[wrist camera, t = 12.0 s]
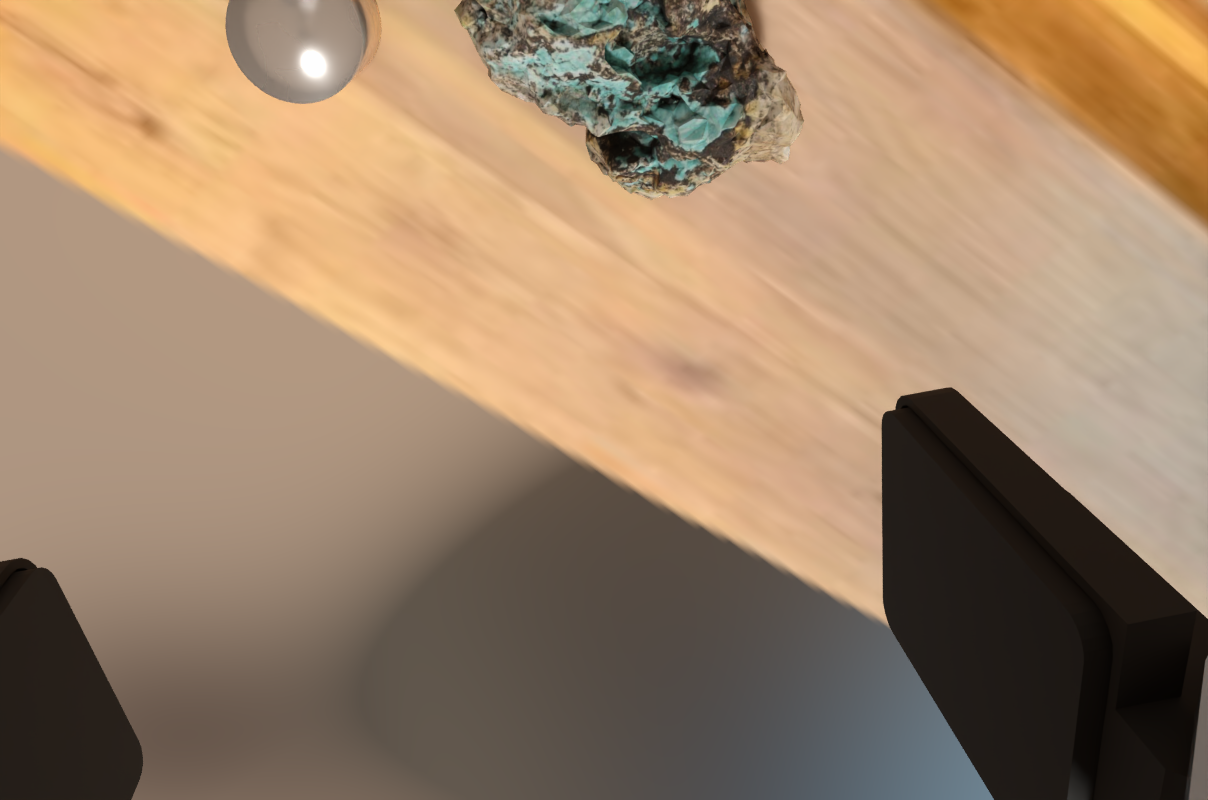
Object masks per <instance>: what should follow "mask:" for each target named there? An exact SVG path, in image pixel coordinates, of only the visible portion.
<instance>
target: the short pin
mask: <svg viewBox="0 0 1208 800" xmlns="http://www.w3.org/2000/svg"><path fill="white" fill-rule="evenodd" d="M226 35H227V40H228V44H229V48H230V50H231V53H232V55H233V57H234V59H235V61H236V63H237V65H238V66H239V68H240V69H241V71H242V72H243V73H244V75H245V76H246V77H247V78H248V79H249V80H250V81H251V82H252V83H253V84H254V85H255V86H257V87H258V88H259V89H261V90H262V91H263V92H265V93H267V94H269V95H270V96H272V97H275V98H277V99H279V100H283V101H286V102H291V103H300V104H306V103H315V102H319V101H322V100H325V99H327V98H330V97H331V96H333V95H335V94H336V93H338V92H339V91H340V90H342V89H343V88H344V87H345V86H346V85H347V84H348V83H349V82H350V81H351V80H352V79H353V78H354V77H356V76H357V75H358V74H359V73H360V72H361V71H362V70H363V69H364V68H365V67H366V66H367V65H368V64H369V63H370V61H371V60H372V59H373V57H374V55H375V53H376V51H377V49H378V46H379V43H380V38H381V18H380V13H379V10H378V6H377V4H376V2H375V0H230V1H229V4H228V8H227V13H226Z"/></svg>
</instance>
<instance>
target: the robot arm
mask: <svg viewBox="0 0 1208 800" xmlns="http://www.w3.org/2000/svg"><path fill="white" fill-rule="evenodd" d="M882 537H883V604H884V609H885V614H886V617H887V620H888V623H889V626H890V628H891V630H892V632H893V634H894V635H895V637H896V639H897V640H898V642H899V643H900V645H901V647H902V648H903V650H904V652H905V653H906V655H907V657H908V658H909V660H910V662H911V663H912V665H913V666H914V668H915V670H916V671H917V673H918V675H919V676H920V678H921V680H922V681H923V683H924V685H925V686H926V688H927V690H928V691H929V693H930V694H931V696H932V698H933V700H934V701H935V703H936V704H937V706H938V708H939V709H940V711H941V713H942V714H943V716H944V718H945V719H946V721H947V723H948V724H949V726H950V728H951V729H952V731H953V732H954V734H955V736H956V737H957V739H958V741H959V742H960V744H961V746H962V747H963V749H964V750H965V752H966V754H967V756H968V757H969V759H970V760H971V762H972V764H973V765H974V767H975V769H976V770H977V772H978V774H979V775H980V777H981V778H982V780H983V782H984V784H985V785H986V787H987V789H988V790H989V792H990V793H991V795H992V797H993V798H994V800H1208V619H1207V618H1206V617H1205V616H1204V615H1203V614H1202V613H1201V612H1199V611H1198V610H1197V609H1196V608H1195V607H1194V606H1193V605H1192V604H1191V603H1190V602H1188V601H1187V600H1186V599H1185V598H1184V597H1183V596H1182V595H1181V594H1180V593H1179V592H1178V591H1176V590H1175V589H1174V588H1173V587H1172V586H1171V585H1170V584H1169V583H1168V582H1167V581H1165V580H1164V579H1163V578H1162V577H1161V576H1160V575H1159V574H1158V573H1157V572H1156V571H1155V570H1153V569H1152V568H1151V567H1150V566H1149V565H1148V564H1147V563H1146V562H1145V561H1144V560H1143V559H1141V558H1140V557H1139V556H1138V555H1137V554H1136V553H1135V552H1134V551H1133V550H1132V549H1130V548H1129V547H1128V546H1127V545H1126V544H1125V543H1124V542H1123V541H1122V540H1121V539H1120V538H1118V537H1117V536H1116V535H1115V534H1114V533H1113V532H1112V531H1111V530H1110V529H1109V528H1107V527H1106V526H1105V525H1104V524H1103V523H1102V522H1101V521H1100V520H1099V519H1098V518H1097V517H1095V516H1094V515H1093V514H1092V513H1091V512H1090V511H1089V510H1088V509H1087V508H1086V507H1084V506H1083V505H1082V504H1081V503H1080V502H1079V501H1078V500H1077V499H1076V498H1075V497H1074V496H1072V495H1071V494H1070V493H1069V492H1067V491H1066V490H1065V489H1064V488H1063V487H1061V486H1060V485H1059V484H1058V483H1057V482H1056V481H1055V480H1054V479H1053V478H1052V477H1051V476H1049V475H1048V474H1047V473H1046V472H1045V471H1044V470H1043V469H1042V468H1041V467H1040V466H1039V465H1037V464H1036V463H1035V462H1034V461H1033V460H1032V459H1031V458H1030V457H1029V456H1028V455H1026V454H1025V453H1024V452H1023V451H1022V450H1021V449H1020V448H1019V447H1018V446H1017V445H1016V444H1014V443H1013V442H1012V441H1011V440H1010V439H1009V438H1008V437H1007V436H1006V435H1005V434H1004V433H1002V432H1001V431H1000V430H999V429H998V428H997V427H996V426H995V425H994V424H993V423H992V422H990V421H989V420H988V419H987V418H986V417H985V416H984V415H983V414H982V413H981V412H980V411H978V410H977V409H976V408H975V407H974V406H973V405H972V404H971V403H970V402H969V401H967V400H966V399H965V398H964V397H963V396H962V395H961V394H960V393H959V392H958V391H956V390H955V389H953V388H943V389H937V390H932V391H926V392H921V393H916V394H910V395H905V396H901V397H900V398H899V399H898V401H897V404H896V409H895V410H893V411H887V412H885V413H884V415H883V418H882ZM142 766H143V757H142V750H141V746H140V743H139V740H138V739H137V737H136V735H135V733H134V731H133V729H132V727H131V725H130V723H129V721H128V719H127V717H126V715H125V713H124V711H123V709H122V707H121V705H120V703H119V701H118V699H117V697H116V695H115V693H114V692H113V689H112V687H111V686H110V684H109V682H108V680H107V678H106V676H105V674H104V672H103V670H102V668H101V666H100V664H99V662H98V660H97V658H96V656H95V655H94V652H93V650H92V648H91V646H90V644H89V642H88V641H87V638H86V637H85V635H84V633H83V631H82V629H81V627H80V625H79V623H78V621H77V619H76V617H75V615H74V613H73V611H72V609H71V608H70V605H69V603H68V601H67V599H66V597H65V595H64V593H63V591H62V590H61V588H60V586H59V584H58V582H57V580H56V578H55V577H54V575H53V574H52V572H50V571H49V570H48V569H46V568H37V567H36V565H34V564H33V563H32V562H31V561H29V560H27V559H23V558H18V559H13V560H7V561H2V562H0V800H131V799H132V796H133V794H134V792H135V789H136V787H137V784H138V782H139V780H140V776H141V773H142Z"/></svg>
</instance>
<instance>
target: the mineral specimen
mask: <svg viewBox="0 0 1208 800" xmlns="http://www.w3.org/2000/svg"><path fill="white" fill-rule="evenodd" d="M454 11H455V12H456V14H457V16H458V18H459V20H460V22H461V24H462V26H463V27H464V28H465V29H467V30H468V32H469V35H470V37H471V39H472V41H473V43H474V45H475V47H476V50H477V52H478V53H479V55H480V57H481V59H482V62H483V63H484V64H485V66H486V67H487V68H488V76H489V77H490V79H491V80H492V81H493V82H494V83H495V84H496V85H497V86H498V87H499V88H500V89H501V90H502V91H504V92H506V93H508V94H510V95H513V96H515V97H517V98H519V99H522V100H524V101H527V102H533V103H536V105H537V106H538V107H539V108H540V109H541V110H542V112H543V113H545V114H548V115H552V116H557V117H558V118H559V119H561V120H562V121H564V122H565V123H566V124H568V125H569V126H573V125H575V124H576V125H584V126H586V127H587V128H586V146H587V149H588V152H589V155H590V158H591V160H592V161H593V162H595V163H596V164H597V165H598V166H599V168H600V169H601V171H602V172H603V174H604V175H608V176H609V177H610V178H611V179H612V181H613V182H618V184H619V185H620V186H621V187H623V188H624V189H625V190H627V191H628V192H629V193H636V194H638V195H640V196H643V197H645V198H648V199H650V200H653V199H656V198H659V197H661V196H663V195H666V196H667V197H669V198H672V197H678V196H688V195H689V194H690V193H691V192H692V191H693V190H694V189H696V188H697V187H698V186H699V185H702V184H705V183H710V182H711V181H712V180H713V179H715V178H716V177H718V176H719V175H720V174H722V173H724V172H725V171H726V170H728V169H729V168H731V167H732V166H734V165H735V164H736V163H738V162H740V161H744V162H745V163H747V162H751V161H756V162H766V161H769V160H773V161H775V162H777V163H779V164H782V163H783V162H785V161H786V160H788V159H789V153H790V146H791V145H792V144H793V142H794V141H795V140H796V138H797V137H798V136H799V134H800V132H801V129H802V126H803V123H804V120H803V117H802V114H801V110H800V105H801V104H800V101H799V99H798V96H797V94H796V91H795V89H794V88H793V86H792V84H791V83H790V81H789V79H788V78H787V74H786V71H784V70H783V69H781V68H779V67H777V66H776V65H775V63H774V59H773V58H772V57H771V56H770V55H769V54H768V52H767V50H766V49H765V50H764V49H763V48H762V46H761V45H760V43H759V41H758V39H757V37H756V34H755V32H754V30H753V23H752V21H751V19H750V16H749V14H748V12H747V10H746V6H745V1H744V0H462V2H461V3H460V4H459V5H458V7H457V8H456V9H455V10H454Z"/></svg>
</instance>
